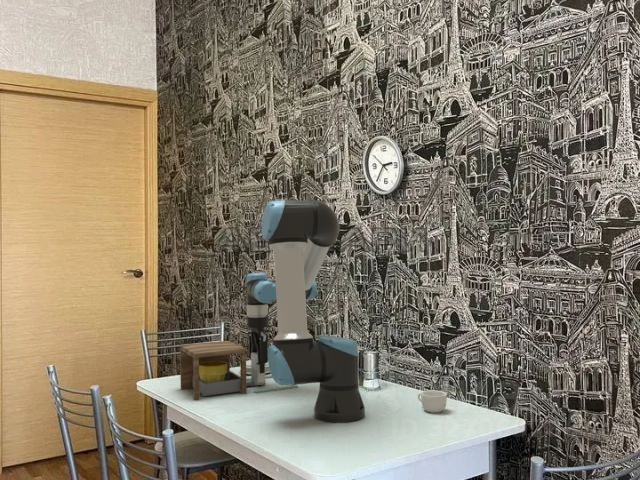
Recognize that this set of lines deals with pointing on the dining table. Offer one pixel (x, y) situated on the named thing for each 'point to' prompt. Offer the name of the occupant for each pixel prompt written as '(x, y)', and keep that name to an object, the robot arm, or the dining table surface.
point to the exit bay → (272, 388)
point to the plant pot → (212, 371)
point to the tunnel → (208, 352)
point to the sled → (230, 381)
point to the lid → (248, 367)
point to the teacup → (433, 400)
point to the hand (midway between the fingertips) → (258, 380)
